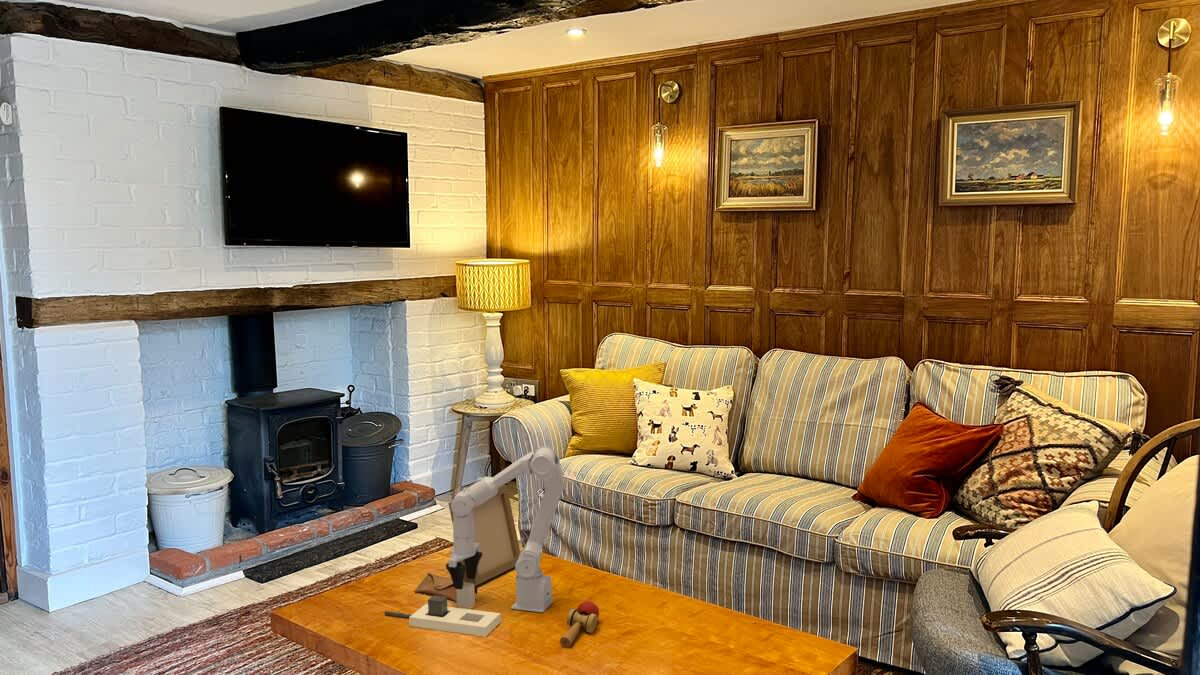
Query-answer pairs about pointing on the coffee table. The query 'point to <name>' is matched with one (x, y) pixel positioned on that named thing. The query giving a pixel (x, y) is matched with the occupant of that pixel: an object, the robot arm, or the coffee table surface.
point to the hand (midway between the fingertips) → (465, 583)
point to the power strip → (451, 618)
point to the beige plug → (466, 595)
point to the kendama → (580, 621)
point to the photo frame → (494, 537)
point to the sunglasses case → (439, 587)
